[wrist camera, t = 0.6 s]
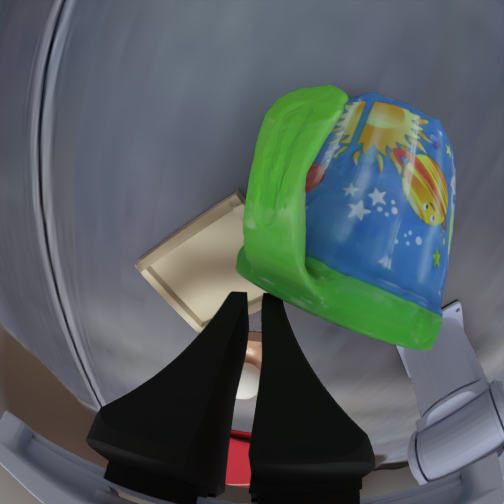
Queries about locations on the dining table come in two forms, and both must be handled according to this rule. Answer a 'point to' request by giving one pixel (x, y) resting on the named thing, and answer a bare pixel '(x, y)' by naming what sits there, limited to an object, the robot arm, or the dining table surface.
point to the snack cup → (352, 213)
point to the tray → (202, 264)
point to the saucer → (254, 349)
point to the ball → (248, 381)
